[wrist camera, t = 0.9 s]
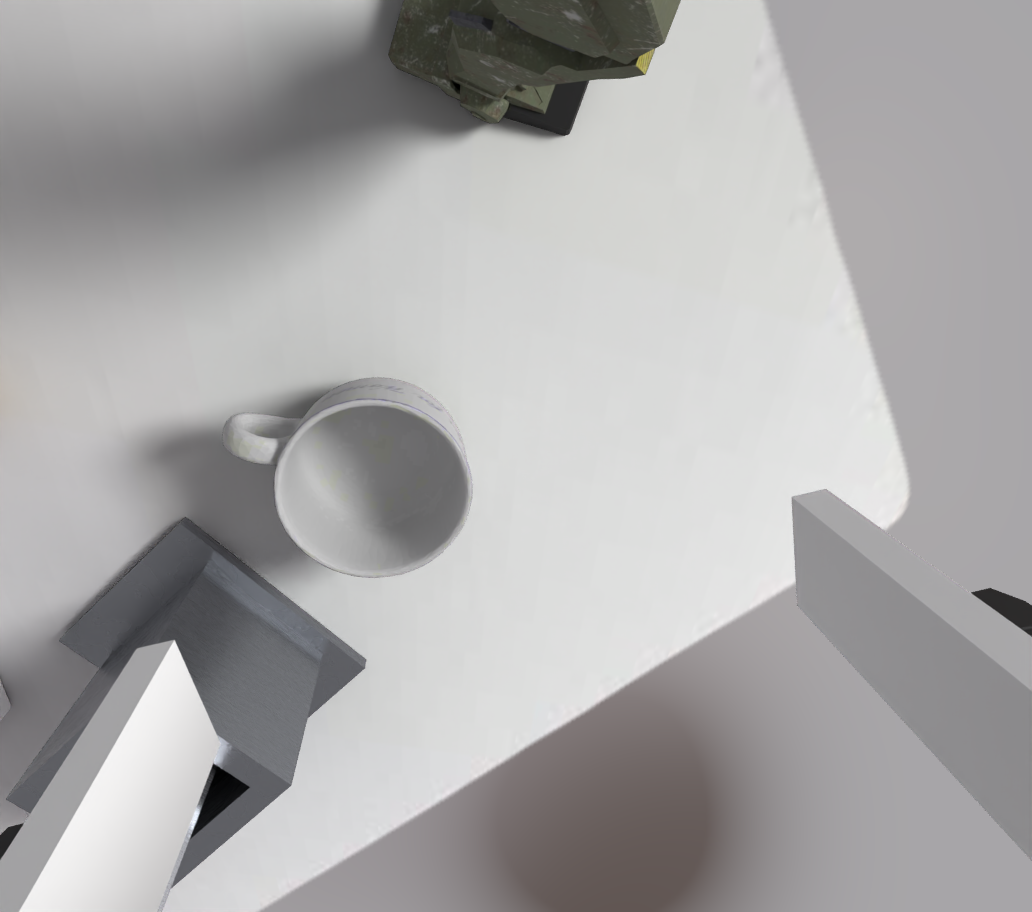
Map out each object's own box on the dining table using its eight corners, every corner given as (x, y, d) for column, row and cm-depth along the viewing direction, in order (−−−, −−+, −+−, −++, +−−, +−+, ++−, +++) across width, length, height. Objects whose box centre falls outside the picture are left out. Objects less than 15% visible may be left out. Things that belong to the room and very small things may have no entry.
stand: (64, 634, 47) (-64, 782, 35) (185, 516, 45) (95, 630, 33) (250, 760, 52) (196, 928, 40) (366, 659, 50) (345, 803, 38)
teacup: (496, 422, 46) (510, 464, 38) (410, 550, 48) (406, 613, 40) (304, 304, 42) (277, 325, 34) (220, 449, 44) (177, 498, 37)
